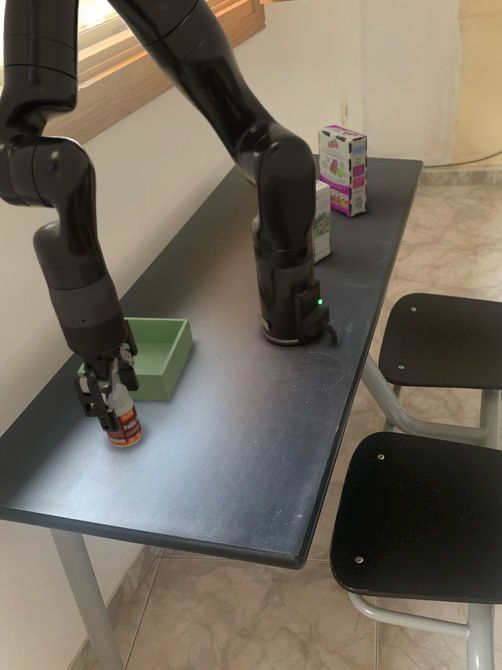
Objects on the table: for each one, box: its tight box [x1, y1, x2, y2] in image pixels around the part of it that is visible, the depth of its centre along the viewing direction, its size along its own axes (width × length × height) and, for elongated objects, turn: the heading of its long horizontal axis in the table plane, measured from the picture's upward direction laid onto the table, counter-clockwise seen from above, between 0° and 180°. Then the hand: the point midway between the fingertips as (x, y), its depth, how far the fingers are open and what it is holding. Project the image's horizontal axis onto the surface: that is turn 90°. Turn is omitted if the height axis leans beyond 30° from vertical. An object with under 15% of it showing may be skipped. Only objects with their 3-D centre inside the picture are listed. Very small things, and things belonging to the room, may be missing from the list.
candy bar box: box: [317, 124, 368, 218], centre depth 144 cm, size 11×5×16 cm, turn 37°
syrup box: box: [312, 179, 332, 265], centre depth 128 cm, size 6×6×14 cm
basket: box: [76, 317, 194, 402], centre depth 105 cm, size 13×15×5 cm
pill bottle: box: [101, 383, 144, 449], centre depth 92 cm, size 5×5×8 cm
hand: (122, 409), depth 91 cm, fingers open, 8 cm apart
